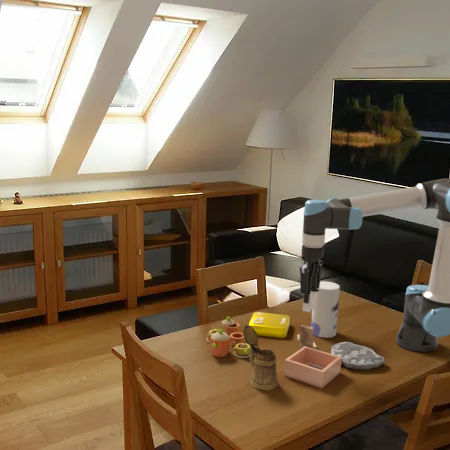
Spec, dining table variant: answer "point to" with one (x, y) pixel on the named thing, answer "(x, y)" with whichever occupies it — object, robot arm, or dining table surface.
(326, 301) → the container
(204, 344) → the dining table surface
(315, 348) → the beige wooden plank
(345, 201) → the robot arm
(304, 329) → the tall beige block
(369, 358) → the brain slice
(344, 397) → the dining table surface
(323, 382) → the pink open box
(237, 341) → the toy tea set
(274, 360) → the wooden mug
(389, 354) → the dining table surface
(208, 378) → the dining table surface
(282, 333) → the element tile
